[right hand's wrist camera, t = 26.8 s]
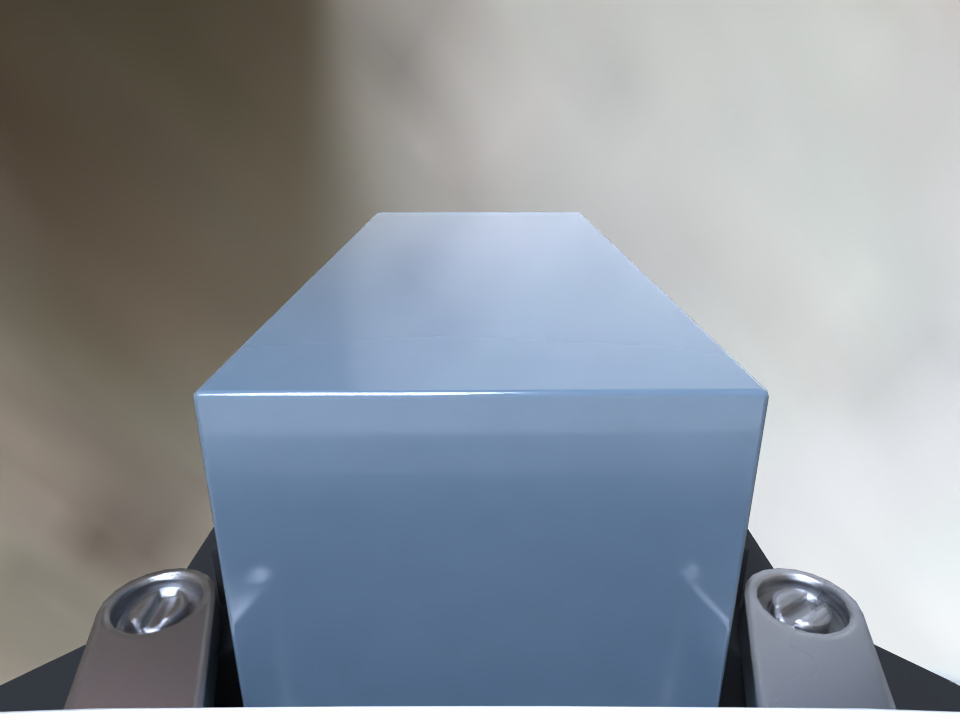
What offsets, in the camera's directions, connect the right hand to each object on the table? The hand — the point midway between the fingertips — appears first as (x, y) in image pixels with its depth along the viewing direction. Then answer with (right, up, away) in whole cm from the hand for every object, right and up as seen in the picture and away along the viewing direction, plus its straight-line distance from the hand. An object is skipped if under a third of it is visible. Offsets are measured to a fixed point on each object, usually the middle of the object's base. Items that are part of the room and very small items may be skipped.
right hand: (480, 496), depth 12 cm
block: (0, +2, +6) cm, 6 cm away
